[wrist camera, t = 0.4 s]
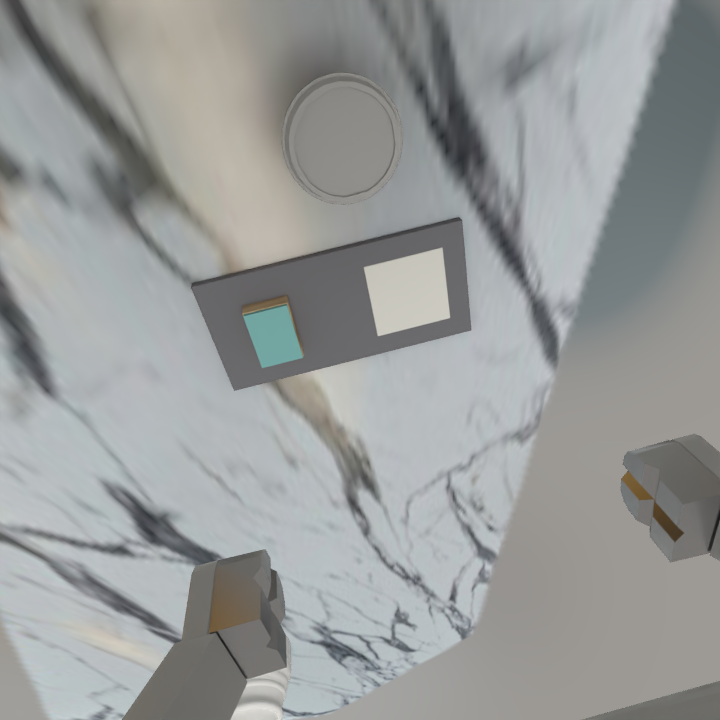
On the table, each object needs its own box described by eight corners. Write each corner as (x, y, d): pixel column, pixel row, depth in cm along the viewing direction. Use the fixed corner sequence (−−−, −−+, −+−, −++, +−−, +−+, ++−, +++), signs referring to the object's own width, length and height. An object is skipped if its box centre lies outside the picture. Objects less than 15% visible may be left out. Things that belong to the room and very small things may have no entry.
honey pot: (213, 633, 87) (202, 756, 72) (288, 623, 89) (292, 739, 74) (223, 672, 94) (215, 791, 79) (292, 661, 96) (297, 776, 80)
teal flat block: (242, 305, 55) (241, 315, 53) (286, 294, 55) (287, 304, 53) (261, 357, 59) (261, 369, 57) (302, 347, 59) (304, 358, 57)
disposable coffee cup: (341, 45, 45) (363, 42, 35) (394, 140, 50) (427, 162, 40) (257, 110, 46) (255, 126, 36) (317, 196, 51) (329, 231, 41)
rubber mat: (192, 283, 54) (191, 287, 53) (459, 217, 55) (462, 220, 54) (234, 386, 62) (234, 391, 61) (468, 326, 62) (471, 330, 62)
